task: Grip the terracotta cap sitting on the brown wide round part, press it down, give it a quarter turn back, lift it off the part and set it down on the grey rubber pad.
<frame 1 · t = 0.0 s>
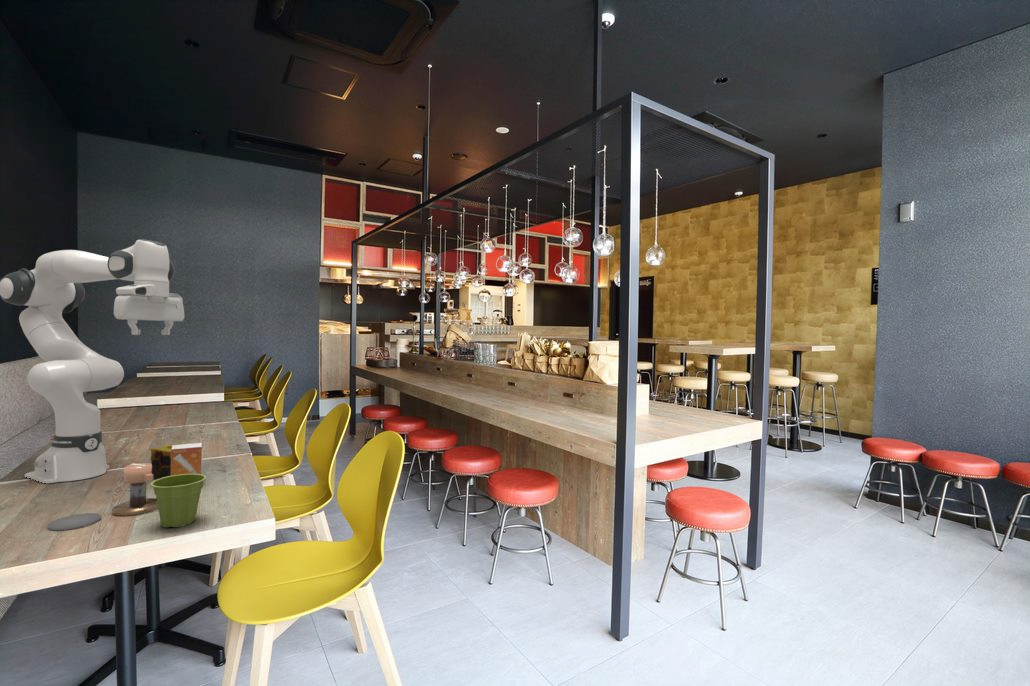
hand: (151, 334, 150), 48 cm above the table, tool pointing down, fingers open, 8 cm apart
plant pot: (178, 523, 123), on the table
brown wide round part: (137, 508, 132), on the table
pad: (75, 522, 121), on the table
cap: (138, 480, 132), point 8 cm above the table, touching brown wide round part
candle: (174, 476, 161), on the table
small box: (186, 486, 151), on the table
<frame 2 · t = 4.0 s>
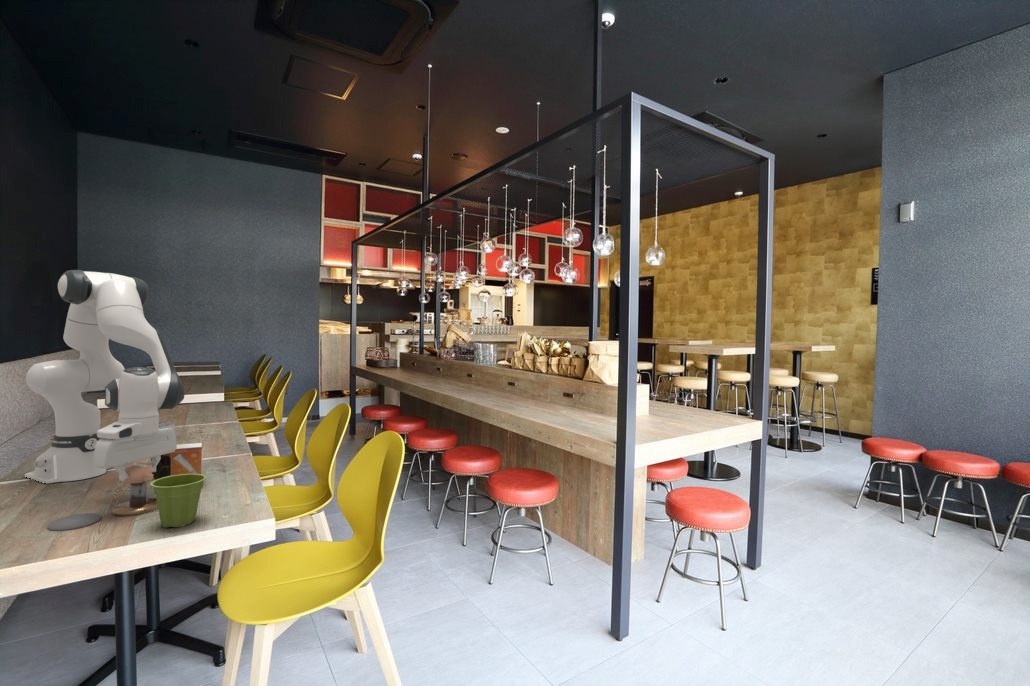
hand: (138, 476, 132), 9 cm above the table, tool pointing down, fingers closed on cap, 6 cm apart
cap: (138, 480, 132), point 8 cm above the table, touching gripper, brown wide round part
everything else where it was.
when the fingers open (3 cm above the table, at t = 10.7 s): cap drops 1 cm, resting on pad.
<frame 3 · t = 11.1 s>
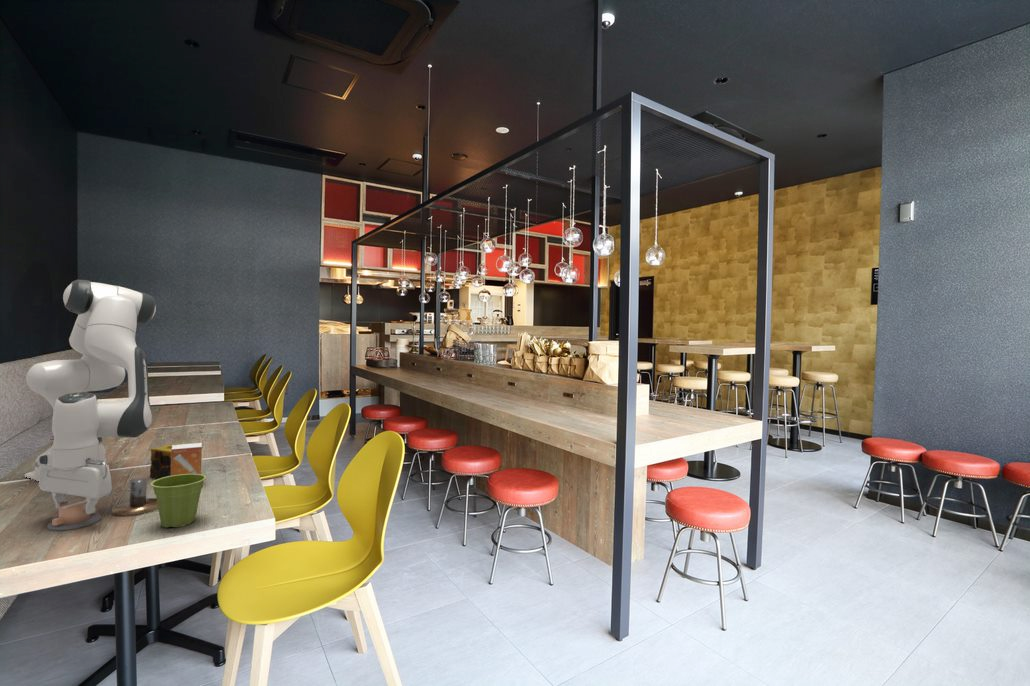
hand: (75, 510, 121), 3 cm above the table, tool pointing down, fingers open, 8 cm apart
cap: (75, 520, 121), point 1 cm above the table, touching pad
everything else where it was.
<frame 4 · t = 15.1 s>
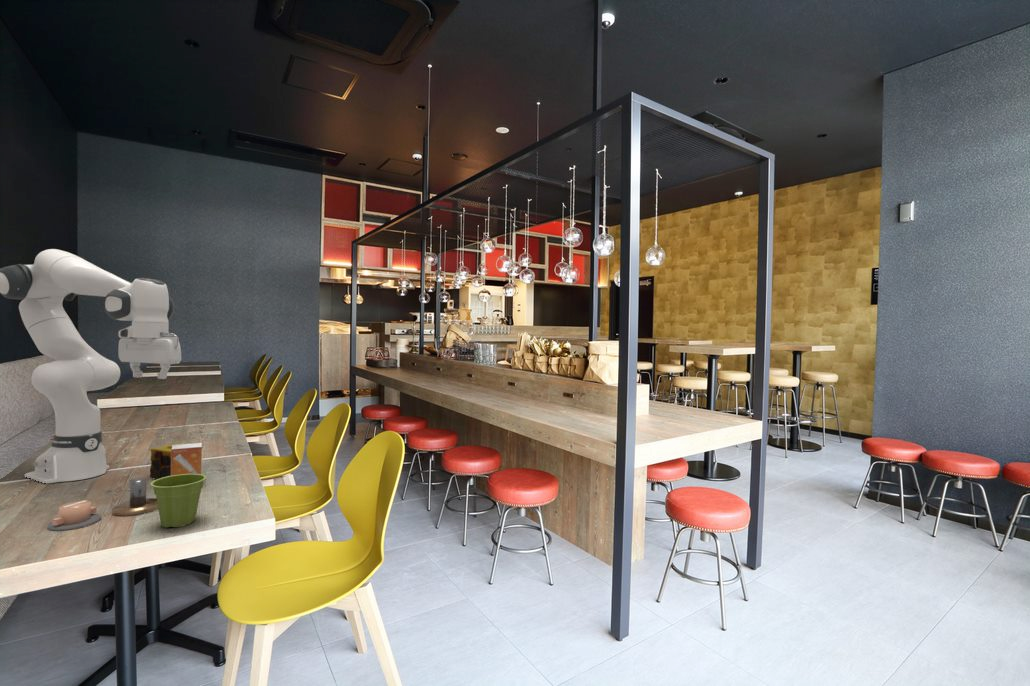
hand: (149, 378, 143), 35 cm above the table, tool pointing down, fingers open, 8 cm apart
nothing on the table moved.
at the end: cap inside the target area on the pad (0.1 cm from its centre), point 0.6 cm above the pad's base; cap point 0.6 cm above the table; the gripper is holding nothing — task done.
